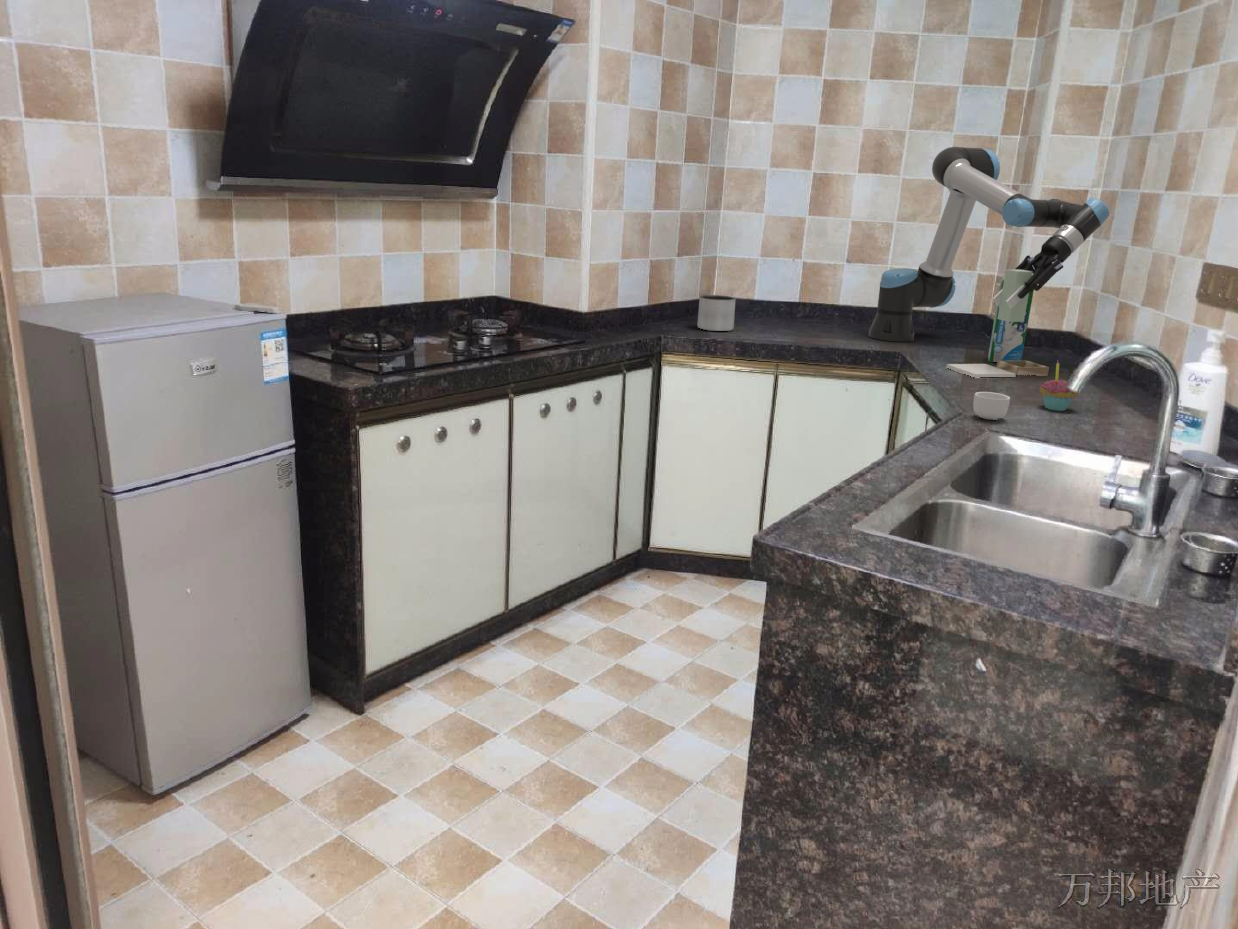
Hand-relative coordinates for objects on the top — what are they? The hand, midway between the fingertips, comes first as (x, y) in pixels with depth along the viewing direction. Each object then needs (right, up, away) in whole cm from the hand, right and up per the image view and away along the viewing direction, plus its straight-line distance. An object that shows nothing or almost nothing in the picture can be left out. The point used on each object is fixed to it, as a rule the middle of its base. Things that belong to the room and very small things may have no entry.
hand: (1002, 303), depth 262 cm
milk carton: (+11, -14, +25) cm, 31 cm away
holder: (+9, -19, +9) cm, 23 cm away
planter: (-75, +1, +61) cm, 96 cm away
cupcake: (-1, -32, -34) cm, 47 cm away
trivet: (-4, -19, +5) cm, 20 cm away
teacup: (-23, -35, -46) cm, 62 cm away
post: (+3, -4, +3) cm, 6 cm away
